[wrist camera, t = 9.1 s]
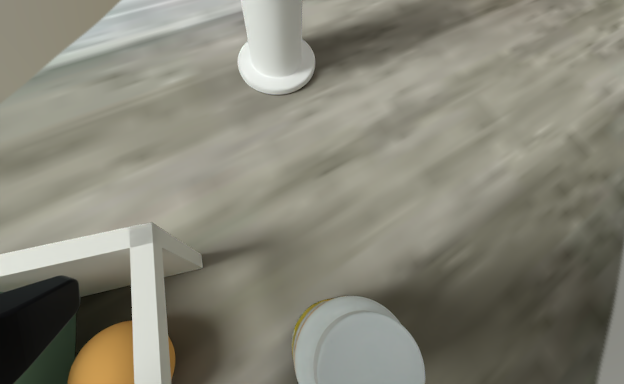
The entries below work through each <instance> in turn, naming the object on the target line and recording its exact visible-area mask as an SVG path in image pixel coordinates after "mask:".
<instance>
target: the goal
mask: <svg viewBox="0 0 624 384" xmlns="http://www.w3.org/2000/svg"><path fill="white" fill-rule="evenodd" d="M201 268H203V264H202V255H201V254H200V253H199V252H197V251H196V250H194V249H193V248H191V247H190V246H188V245H186V244H185V243H183V242H182V241H180V240H179V239H177V238H176V237H174V236H172V235H171V234H169V233H168V232H166V231H165V230H163V229H162V228H160V227H158V226H157V225H155V224H154V223H152V222H150V223H145V224H141V225H136V226H131V227H127V228H122V229H117V230H112V231H108V232H103V233H98V234H94V235H89V236H84V237H80V238H75V239H70V240H65V241H61V242H56V243H51V244H47V245H42V246H37V247H33V248H28V249H23V250H18V251H14V252H9V253H4V254H0V293H3V292H6V291H10V290H13V289H16V288H19V287H23V286H26V285H29V284H33V283H36V282H39V281H42V280H46V279H49V278H52V277H55V276H60V275H64V276H67V277H71V278H74V279H76V280H77V281H78V283H79V292H80V297H83V296H87V295H91V294H96V293H100V292H104V291H108V290H113V289H117V288H121V287H125V286H129V285H131V296H132V327H133V359H134V384H171V370H170V356H169V342H168V327H167V313H166V299H165V284H164V277H167V276H172V275H176V274H180V273H184V272H188V271H193V270H197V269H201ZM75 337H76V314H75V315H74V316H73V317H72V318H71V320H70V321H69V322H68V323H67V324H66V325H65V327H64V328H63V329H62V330H61V331H60V332H59V334H58V335H57V336H56V337H55V338H54V339H53V341H52V342H51V343H50V344H49V345H48V346H47V348H46V349H45V350H44V351H43V352H42V353H41V355H40V356H39V357H38V358H37V359H36V360H35V362H34V363H33V364H32V365H31V366H30V367H29V368H28V369H27V370H26V371H25V372H24V373H23V375H22V376H21V377H20V378H19V379H18V380H17V381H16V382H15V383H14V384H67V381H68V376H69V372H70V369H71V366H72V364H73V362H74V360H75Z"/></svg>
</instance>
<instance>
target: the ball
mask: <svg viewBox="0 0 624 384" xmlns="http://www.w3.org/2000/svg"><path fill="white" fill-rule="evenodd" d="M168 342H169V356H170V370H171V380H172V376H173V373H174V368H175V351H174V347H173V344H172V341H171V340H170V338H169V336H168ZM67 384H134V359H133V327H132V321H124V322H120V323H117V324H114V325H112V326H110V327H108V328H106V329H104V330H102V331H101V332H99V333H98V334H96V335H95V336H94V337H93V338H92V339H90V340H89V341H88V342H87V343H86V344H85V345H84V347H83V348H82V349H81V351H80V352H79V353H78V355H77V357H76V358H75V360H74V362H73V364H72V366H71V369H70V372H69V376H68V381H67Z"/></svg>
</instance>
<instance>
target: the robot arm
mask: <svg viewBox="0 0 624 384" xmlns="http://www.w3.org/2000/svg"><path fill="white" fill-rule="evenodd" d="M79 307H80V292H79V283H78V281H77V280H76V279H74V278H71V277H67V276H64V275H60V276H55V277H52V278H49V279H46V280H42V281H39V282H36V283H33V284H29V285H26V286H23V287H19V288H16V289H13V290H10V291H6V292H3V293H0V384H14V383H15V382H16V381H17V380H18V379H19V378H20V377H21V376H22V375H23V373H24V372H25V371H26V370H27V369H28V368H29V367H30V366H31V365H32V364H33V363H34V362H35V360H36V359H37V358H38V357H39V356H40V355H41V353H42V352H43V351H44V350H45V349H46V348H47V346H48V345H49V344H50V343H51V342H52V341H53V339H54V338H55V337H56V336H57V335H58V334H59V332H60V331H61V330H62V329H63V328H64V327H65V325H66V324H67V323H68V322H69V321H70V320H71V318H72V317H73V316H74V315H75V314H76V312H77V311H78V309H79Z"/></svg>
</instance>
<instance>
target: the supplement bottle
mask: <svg viewBox="0 0 624 384" xmlns="http://www.w3.org/2000/svg"><path fill="white" fill-rule="evenodd" d="M292 356H293V361H294V367H295V373H296V377H297V381H298V384H425V367H424V361H423V358H422V355H421V352H420V349H419V347H418V345H417V343H416V342H415V340H414V338H413V337H412V335H411V334H410V333H409V332H408V330H407V329H406V328H405V327H404V326H402V325H401V323H400V322H399V320H398V319H397V318H396V317H395V316H394V315H393V314H392V313H391V312H390V311H389V310H388V309H387V308H386V307H384V306H383V305H381V304H380V303H378V302H376V301H374V300H371V299H368V298H365V297H360V296H341V297H336V298H332V299H327V300H322V301H319V302H317V303H315V304H313V305H311V306H310V307H309V308H307V309H306V310H305V311H304V312H303V314H302V315H301V316H300V318H299V319H298V321H297V323H296V325H295V328H294V331H293V335H292Z"/></svg>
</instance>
